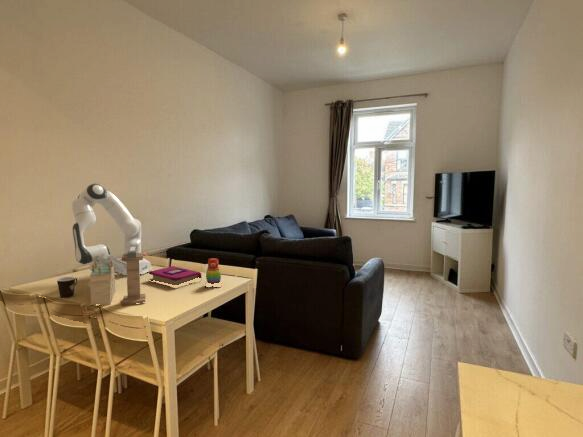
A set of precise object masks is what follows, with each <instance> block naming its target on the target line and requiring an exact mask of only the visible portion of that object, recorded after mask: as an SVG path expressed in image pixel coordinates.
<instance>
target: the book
mask: <svg viewBox="0 0 583 437" xmlns="http://www.w3.org/2000/svg"><path fill="white" fill-rule="evenodd" d="M148 274H149V275H152V278H150V279H149V280H151V281H153V280H155V281H159V282H164V283H168V284H172V285H179V284H181V283H184V282H187V281H190V280H193V279H195V278H198V277H199V278H201V279H202V273H201V272H200V271H196V270H192V269H189V268H188V269H187V268H183V267H178V266H174V265H172V266H168V267H163V268H159V269H155V270H154V271H149V273H148Z"/></svg>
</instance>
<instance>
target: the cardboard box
mask: <svg viewBox="0 0 583 437" xmlns="http://www.w3.org/2000/svg"><path fill="white" fill-rule="evenodd" d="M115 283H116V281H115V273H114V265H113V263H112V260H111V261H110V264H108V265H97V261H95V262H94V265H92V271H91V273H90V275H89V285H90V288H89V290H90V306H91V305H96V304H100V306H106V305H107V306H108V305H111V304H112V301H113V299H114V296H115V293H116V286H115V285H116V284H115Z"/></svg>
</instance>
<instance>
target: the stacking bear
mask: <svg viewBox="0 0 583 437" xmlns="http://www.w3.org/2000/svg"><path fill="white" fill-rule="evenodd" d="M219 263H220V262H219V258H218V257H216V258H213V257H212V258H208V259H207V266H208V267H207V269H206V273H205V278H206V279H205V280H206V283H207V282H208V283H211V284H214V283H219V282H221V281H222V280H221V279H222V273H221V269H220V266H219Z"/></svg>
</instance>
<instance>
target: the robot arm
mask: <svg viewBox="0 0 583 437" xmlns="http://www.w3.org/2000/svg"><path fill="white" fill-rule="evenodd" d="M96 204H99V205H100V206H102V208H103V209H104V210H105V211H106V213H108V215H109V216H110V217H111V218H112V219H113V220H114V222H115V223H116V225H117V226H118V227H119V229H120V230H121V232H122V233H123V234H124V239H123V252H124V253H123V254H127V252H128V250H129V247H130V245H138V252H137V253H143V260H139V268H140V274H144V273H146V272H148V270H149V269H152V268H153V267H152V264H151V262H150V261H149V260H147V259H146V258H144V257H146V256H147V253H144V252H142V223H141V221H140V220H139V219H137V218H134V217H133V216H132V214H131V213H130V211H129V209H128V208H127V207H126V205H125V204H123V202H122V201H121V200H120V199H119V198H118V197H117V196H116V195H115V194H114V193H113V192H111V191H110V190H106V189H105V187H104V186H102V185H100V184H99V183H92V184H90V185H88V186H87V187H86V188H84V189H83V190H82V192H81V193H79V195H78V196H77V198H76V199H75V200H73V201H72V203H71V206H72V213H73V216H74V220H75V223H73V225H72V236H73V243H74V250H75V252H74V253H75V260H76V262H77V263H80V264H82V265H88V264H89V270H90V271H91V272H92V265H94V262H95V261H97V265H108V264H110V261H111V260H112V263H113V265H114V274H119V275H120V274H122V275H123V276H126V277H127V265H126V261H122V259H119V258H118V256H117V255H111V251H110V249H109V247H108V246H107V245H105V244H104V243H103V244H102V243H100V244H96V245H90V246H86V245H85V240H84V232H85V231H86V230H89V229H90V228H91V227H93V226H94V225H95V223H96V221H97V218H96V217H97V216H96V213H95V211H94V208H93V206H94V205H96ZM144 275H145V274H144Z"/></svg>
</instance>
